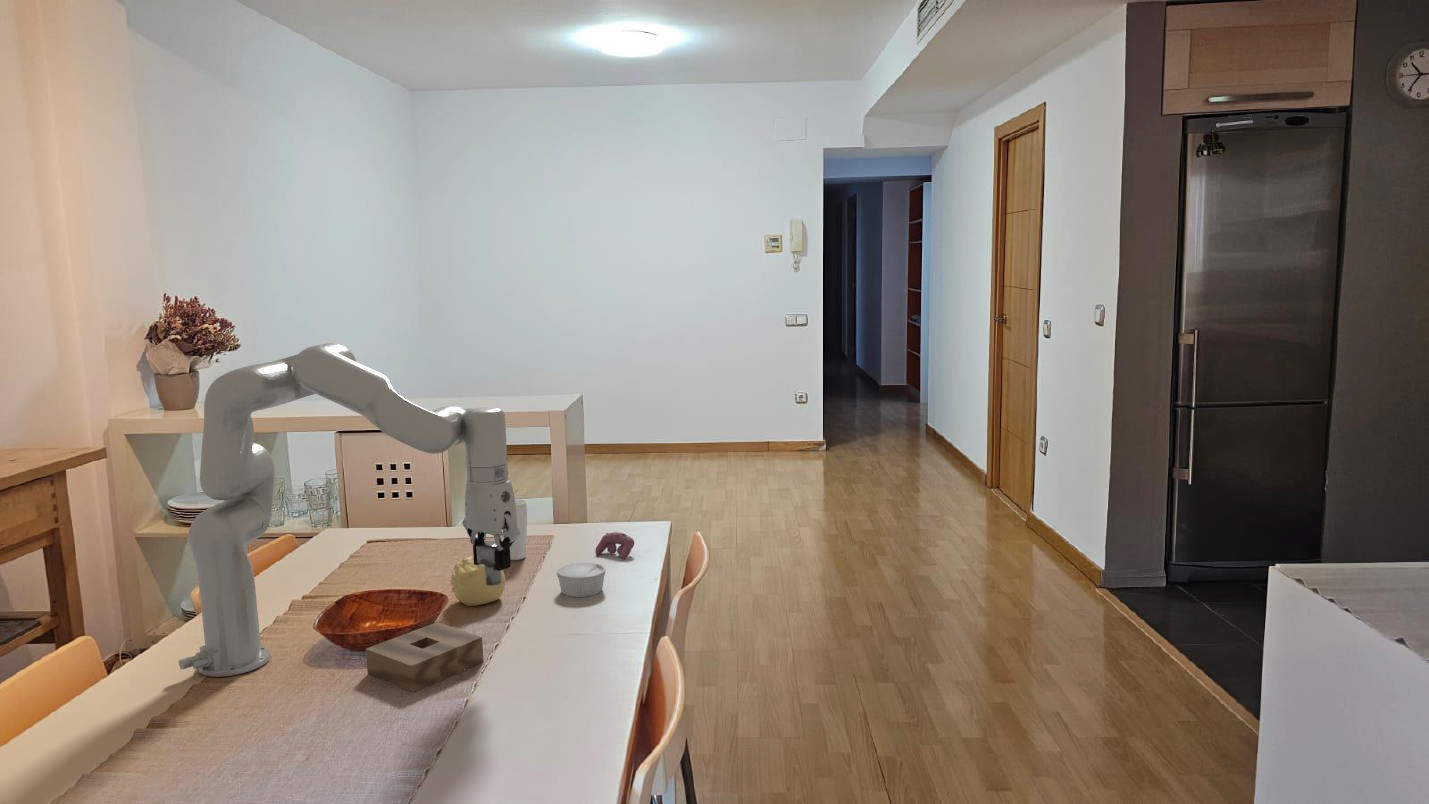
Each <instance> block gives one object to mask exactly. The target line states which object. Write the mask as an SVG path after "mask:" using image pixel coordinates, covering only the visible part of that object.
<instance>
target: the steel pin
mask: <svg viewBox="0 0 1429 804" xmlns="http://www.w3.org/2000/svg"><path fill="white" fill-rule="evenodd" d="M476 550H477V562H478V563H479V564H483V565H484V567H485V584H486V585H489V586H493V585H498V584H501V571H497V570H496V565H495V550H498V549H497V546H496V543H495V540H489V541H488V542H485V541H484V542H483V543H480V544H478V545H477V546H476Z"/></svg>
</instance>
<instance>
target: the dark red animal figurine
mask: <svg viewBox="0 0 1429 804" xmlns="http://www.w3.org/2000/svg"><path fill="white" fill-rule="evenodd" d="M617 545H619V546H618V547H617ZM634 546H635V540H634V539H633V537H630V536H629V535H627V534H626V533H622V532H618V531H617V532H616V531H614V532H606V533H605V535H603V536H602V537H601V539H600V541H599V542H598V544H597V546H596V548H595V555H596V556H599V554H600V555H601V554H603V552H605V550H607V552H608V553H609V554H611V553H614V554H615V553H617V554H618V555H619V556H620V559H621V560H626V559H627V558H628V557H629V556H630V554H631V552H632V549H633V548H634Z"/></svg>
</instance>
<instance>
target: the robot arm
mask: <svg viewBox="0 0 1429 804" xmlns="http://www.w3.org/2000/svg"><path fill="white" fill-rule="evenodd" d="M313 395H318V396H319V397H323V398H324V399H326V400H329V401H331V402H332V403H335V404H338V405H339V406H341V407H344V408H346V409H349V410H350V411H352V412H355V413H357V414H359V415H361V416H363V417H364V418H366V419H367V420H368V421H369V423H371V424H372V425H373V426H375V427H376V428H378V430H379V431H381V432H382V433H383V434H385V435H387V436H388V437H390V438H391V439H394V440H396V441H398V442H400V443H402V444H405V445H407V446H409V447H412V448H413V449H416V450H418V451H421V452H423V453H427V454H436V455H437V454H441V453H444V452H446V451H449V450H450V449H451V448H453V447H455V446H458V445H460V444H465V461H466V464H465V465H466V478H467V479H466V484H465V495H464V510H465V511H464V512H465V513H464V515H465V516H464V518H463V520H462V523H461V524H462V525H463V527H464V529H465V530H466V532H467V535H468V537H469V538H470V543H471V545H472V554H473V557H474V565H479V563H478V562H477V550H476V546H477V545H478V544H480V543H483V542H488V541H487V540H486V538H487V535H491V536H493V538H494V541H495V543H496V546H497V549H498V550H495V565H496V570H497V571H501V570H503V571H504V570H506V569H509V568H511V565H512V564H511V562H512V560H510V548H511V547H512V544H513V542H514V541H515V539H516V538H517V537H518V536H519V535H520V532H519V530H518V529H517V513H516V504H515V493H514V488H513V485H512V482H511V480H509V471H508V469H509V468H508V452H507V451H508V449H507V448H508V447H507V445H508V444H507V428H506V425H507V424H506V415H505V412H504V410H502V409H501V408H497V407H478V408H477V407H476V408H470V407H460V406H453V405H451V406H450V405H447V406H441V407H439V408H436V409H435V410H433V411H431V410H430V409H429V410H428V409H426V408H423V407H422V406H419V405H418V404H415V403H413V402H412V401H409V400H407V399H406V398H404V397H403V396H402V395H400V394H399V393H398V392H396V391H395V389H394V388H393V386H392V384H391V381H390V379H389V377H388V376H387V375H385V374H383V373H382V372H379V371H377V370H375V369H372V368H370V367H368V366H366V365H364V364H361V363H360V362H357V360H356V357H355V355H354V354H353V352H352V351H351V350H350V349H348V348H347V347H345V346H344V345H342V344H339V343H336V342H335V343H333V342H332V343H331V342H329V343H328V342H327V343H323V344H322V343H321V344H317V345H313V346H308V347H306V348H304V349H302V350H301V351H300V352H299V353H297V354H294V355H290V356H288V357H287V356H286V357H284V358H280V359H277V360H273V361H268V362H264V363H258V364H251V365H246V366H242V367H239V368H236V369H233V370H231V371H228V372H225V373H223V374H222V375H219V377H217V378H216V379H215V380H214V381H213V382H212V383H211V384H210V385H209V387H208V389H207V391H206V394H205V396H204V397H205V398H204V403H203V432H202V439H201V440H202V441H201V454H200V467H199V468H200V469H199V470H200V471H199V483H200V488H201V489H202V492H203V493H204V494H205V496H207V497H208V498H210V499H212V500H215V501H222V502H219V503H217V504H215V505H213V506H210V507H209V508H207V509H205V510H203V511H202V512H200V513H198V515H197V516H196V517H195V518H194V519H193V520H192V521H191V524H190V527H189V529H188V543H189V544H188V545H189V546H190V551H191V553H192V557H193V560H194V562H195V567H196V568H195V569H196V574H197V580H198V581H197V582H198V590H199V598H200V609H201V617H202V628H203V636H204V637H203V638H204V645H202V646H199V651H198V652H196V653H195V655H192V656H187V657H183V658H181V659H179V661H178V666H179V669H180V670H186V669H188V668H189V669H190V668H191V667H192V668H193V670H197V671H198V672H199V673H200V675H203V676H206V677H213V678H217V677H218V678H220V677H231V676H236V675H241V674H245V673H247V672H248V673H249V672H251V671H254V670H256V669H259V668H261V667H263V666H264V665H266V664H267V663H268V662H269V661H270V659H271V651H270V650H269V649H268V648H266V647H264V646H261V645H262V644H261V636H260V635H261V633H260V632H261V631H260V624H259V622H260V621H259V611H258V603H257V589H256V582H255V573H254V568H253V564H252V561H251V559H250V556H249V555H248V552H247V549H246V548H247V547H246V546H247V545H249V544H250V543H253V542H254V541H256V540H257V539H259V538H260V537H261V536H262V535H264V534H265V533H266V532H267V530H268V528H269V527H270V523H271V520H272V519H271V517H272V513H273V499H274V488H275V485H274V484H275V464H274V460H273V458H272V455H271V454H270V452H269V451H268V450H267V449H266V447H264V446H262V445H261V444H259V443H256V442H254V434H255V429H254V423H253V419H252V416H251V415H252V414H253V413H254V412H258V411H264V410H267V409H272V408H274V407H277V406H281V405H285V404H288V403H291V402H294V401H297V400H300V399H304V398H306V397H309V396H313ZM503 536H504V537H503ZM501 537H503V540H502V538H501Z"/></svg>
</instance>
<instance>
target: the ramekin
mask: <svg viewBox="0 0 1429 804" xmlns="http://www.w3.org/2000/svg"><path fill="white" fill-rule="evenodd" d="M605 575H606V568H605V567H604V566H603V565H602V564H599V563H595V562H576V563H570V564H567V565H566V564H565V565H563V566H561V567H559V568H558V569H557V571H556V576H557V578H558V583H559V588H560V591H561V593H562V594H564V596H567V597H571V598H588V597H592V596H595V595H597V594H599V593H600V592H601V591H602V590H603V588H604V587H603V586H604V580H605Z"/></svg>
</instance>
